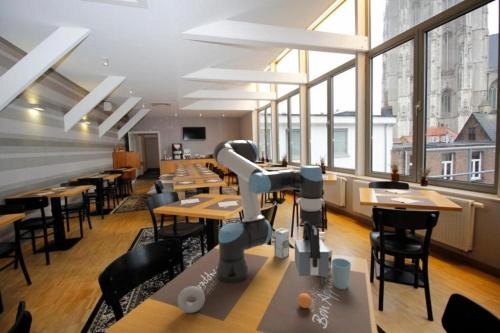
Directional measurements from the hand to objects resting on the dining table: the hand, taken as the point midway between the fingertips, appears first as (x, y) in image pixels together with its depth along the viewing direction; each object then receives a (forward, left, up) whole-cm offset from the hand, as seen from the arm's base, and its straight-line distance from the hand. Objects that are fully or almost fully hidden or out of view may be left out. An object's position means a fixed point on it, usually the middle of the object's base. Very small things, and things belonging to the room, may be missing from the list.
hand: (310, 266), depth 90 cm
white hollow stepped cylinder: (-14, +35, -16) cm, 41 cm away
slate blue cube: (0, 0, -1) cm, 1 cm away
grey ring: (-32, -31, -16) cm, 47 cm away
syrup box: (-31, +27, -16) cm, 44 cm away
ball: (-2, -2, -13) cm, 13 cm away
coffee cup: (-7, +25, -16) cm, 31 cm away
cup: (+4, +20, -16) cm, 26 cm away
